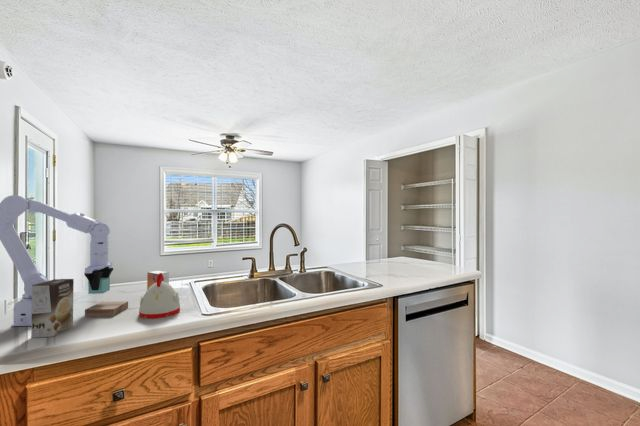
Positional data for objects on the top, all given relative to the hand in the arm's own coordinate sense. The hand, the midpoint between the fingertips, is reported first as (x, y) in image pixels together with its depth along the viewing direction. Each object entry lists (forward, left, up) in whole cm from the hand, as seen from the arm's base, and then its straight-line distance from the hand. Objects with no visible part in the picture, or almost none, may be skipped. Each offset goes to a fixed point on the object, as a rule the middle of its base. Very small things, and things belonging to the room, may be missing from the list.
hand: (99, 288), depth 121 cm
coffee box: (-22, +2, -9) cm, 24 cm away
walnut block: (-3, -4, -9) cm, 10 cm away
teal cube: (0, 0, -1) cm, 1 cm away
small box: (+21, -13, -9) cm, 27 cm away
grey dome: (-5, -24, -9) cm, 26 cm away
